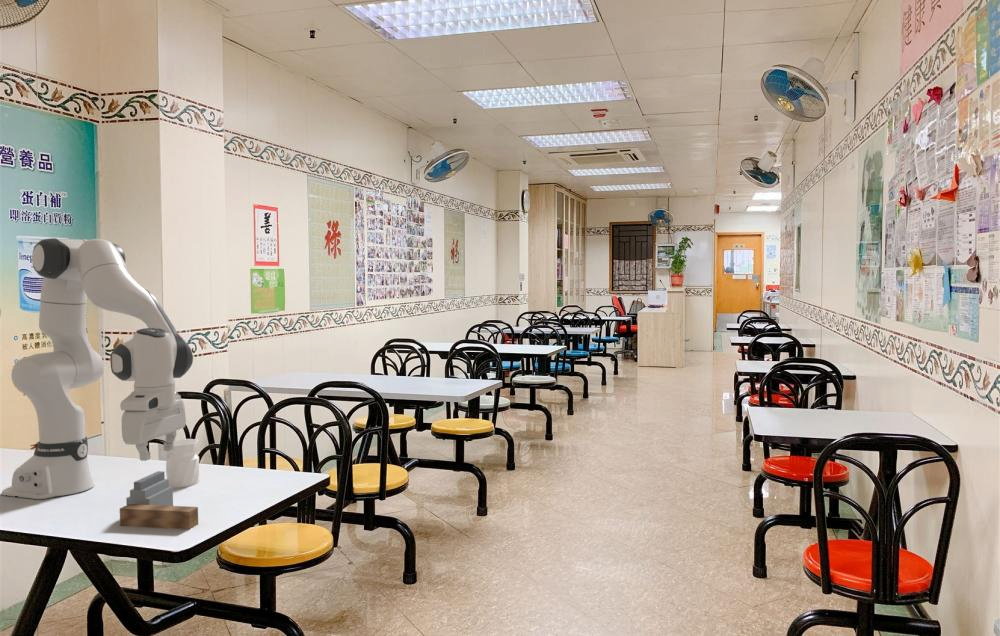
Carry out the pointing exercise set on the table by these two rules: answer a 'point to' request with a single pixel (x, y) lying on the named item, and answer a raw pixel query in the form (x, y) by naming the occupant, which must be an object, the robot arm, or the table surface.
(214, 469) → the table surface
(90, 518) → the table surface
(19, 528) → the table surface
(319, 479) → the table surface
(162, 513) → the walnut bar
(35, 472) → the robot arm
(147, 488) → the ridge block
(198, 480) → the vase
